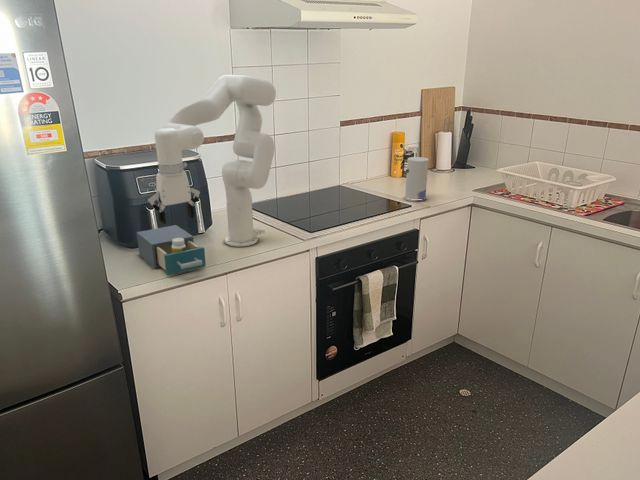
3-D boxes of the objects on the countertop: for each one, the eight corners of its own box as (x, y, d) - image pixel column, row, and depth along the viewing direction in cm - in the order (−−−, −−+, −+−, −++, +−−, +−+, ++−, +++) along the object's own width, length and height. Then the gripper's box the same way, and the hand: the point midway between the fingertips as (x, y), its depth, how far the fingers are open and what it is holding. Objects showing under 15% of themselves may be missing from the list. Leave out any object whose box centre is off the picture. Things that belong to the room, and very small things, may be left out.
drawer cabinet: (195, 259, 196) (193, 236, 192) (154, 268, 188) (151, 244, 185) (178, 247, 208) (176, 224, 204) (139, 255, 200) (136, 232, 196)
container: (404, 196, 277) (407, 156, 270) (424, 197, 276) (428, 156, 268) (404, 201, 268) (407, 160, 260) (425, 202, 267) (429, 161, 259)
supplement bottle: (186, 265, 185) (183, 241, 182) (171, 265, 185) (169, 242, 182) (188, 260, 190) (186, 237, 186) (174, 260, 190) (172, 237, 186)
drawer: (212, 271, 183) (211, 252, 181) (173, 281, 176) (171, 260, 174) (188, 254, 198) (187, 236, 196) (151, 262, 191) (149, 243, 188)
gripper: (191, 162, 182) (197, 212, 189) (140, 170, 173) (147, 222, 180) (201, 166, 177) (206, 217, 184) (148, 175, 168) (156, 228, 175)
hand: (177, 219), depth 182 cm, fingers open, 9 cm apart
